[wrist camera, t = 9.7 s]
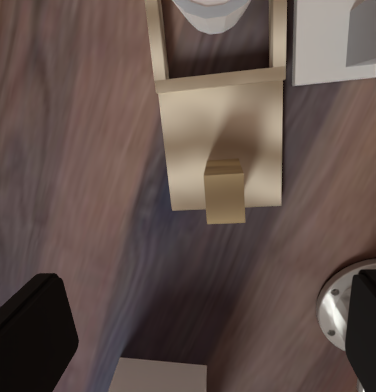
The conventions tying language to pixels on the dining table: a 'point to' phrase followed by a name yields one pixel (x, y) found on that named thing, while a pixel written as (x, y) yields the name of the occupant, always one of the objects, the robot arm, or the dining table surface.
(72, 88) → the dining table surface
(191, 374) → the milk
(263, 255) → the dining table surface
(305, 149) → the dining table surface
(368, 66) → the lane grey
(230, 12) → the white round container
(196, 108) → the beige frame tray
